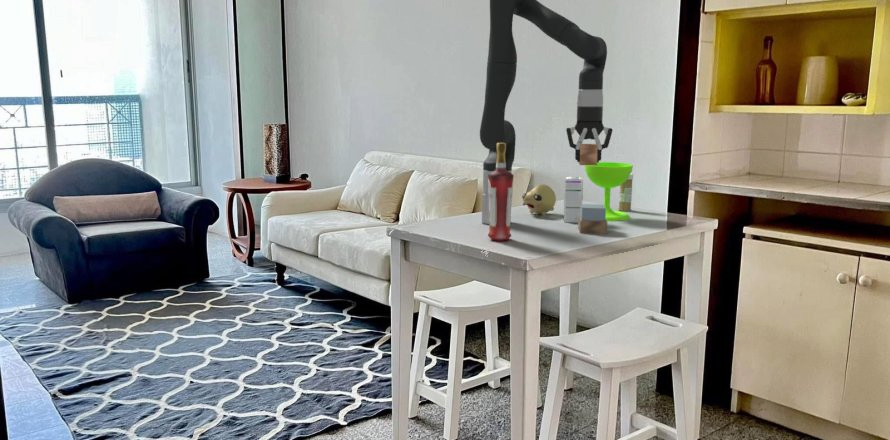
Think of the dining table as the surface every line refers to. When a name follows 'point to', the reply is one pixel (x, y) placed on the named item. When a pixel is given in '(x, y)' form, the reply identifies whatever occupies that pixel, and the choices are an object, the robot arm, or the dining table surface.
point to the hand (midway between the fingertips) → (588, 161)
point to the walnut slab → (592, 226)
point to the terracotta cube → (588, 154)
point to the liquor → (500, 198)
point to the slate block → (592, 212)
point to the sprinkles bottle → (625, 195)
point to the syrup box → (573, 199)
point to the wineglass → (610, 183)
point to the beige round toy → (540, 199)
